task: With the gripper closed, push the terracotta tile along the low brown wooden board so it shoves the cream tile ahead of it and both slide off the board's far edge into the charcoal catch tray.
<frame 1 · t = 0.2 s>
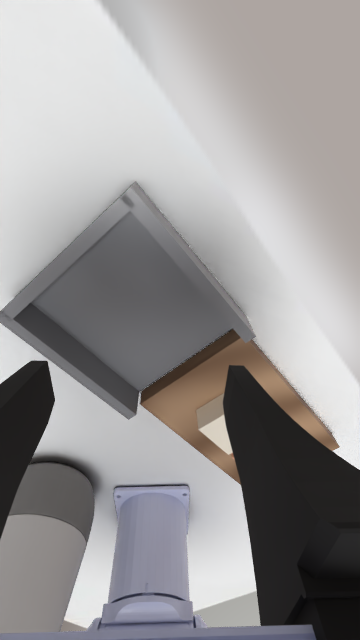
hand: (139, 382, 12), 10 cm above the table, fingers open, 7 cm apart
brown wooden board: (242, 413, 27), on the table
catch tray: (137, 311, 22), on the table
cream tile: (230, 411, 25), point 1 cm above the table, touching brown wooden board
smart speaker: (55, 479, 31), on the table
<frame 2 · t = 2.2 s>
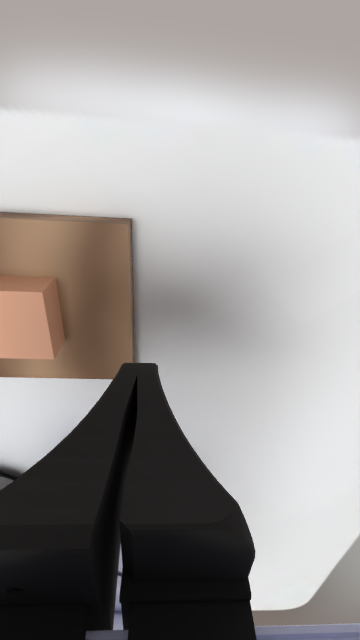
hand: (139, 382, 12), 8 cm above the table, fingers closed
brown wooden board: (1, 297, 18), on the table
terracotta tile: (24, 309, 17), point 1 cm above the table, touching brown wooden board
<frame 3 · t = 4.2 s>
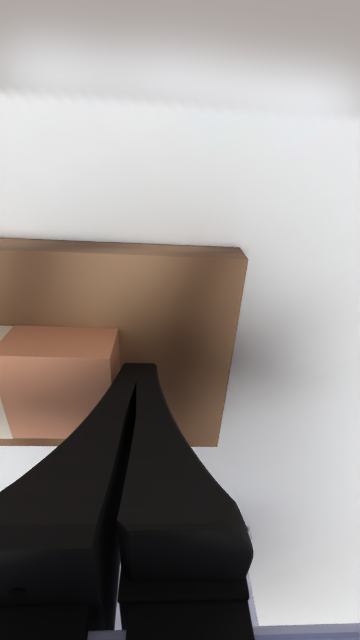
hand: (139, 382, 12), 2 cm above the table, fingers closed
brown wooden board: (54, 346, 14), on the table
terracotta tile: (72, 367, 13), point 2 cm above the table, touching gripper
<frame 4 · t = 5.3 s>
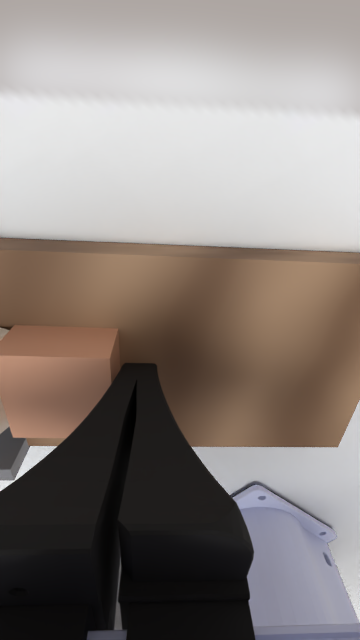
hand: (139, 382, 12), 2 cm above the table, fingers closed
brown wooden board: (192, 349, 14), on the table
terracotta tile: (72, 367, 13), point 2 cm above the table, touching brown wooden board, cream tile, gripper
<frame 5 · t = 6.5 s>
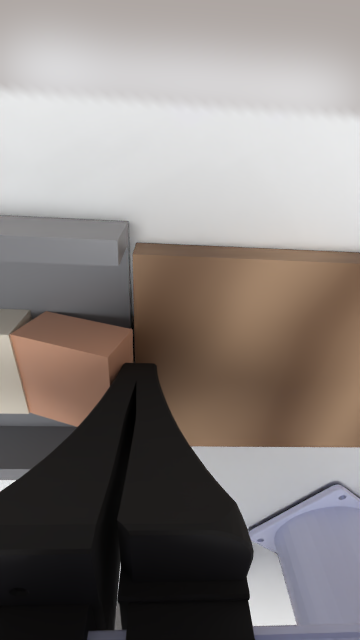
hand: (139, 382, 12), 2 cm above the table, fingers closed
brown wooden board: (302, 352, 15), on the table
catch tray: (11, 345, 14), on the table
terracotta tile: (91, 359, 13), point 1 cm above the table, tilted 19°, touching gripper
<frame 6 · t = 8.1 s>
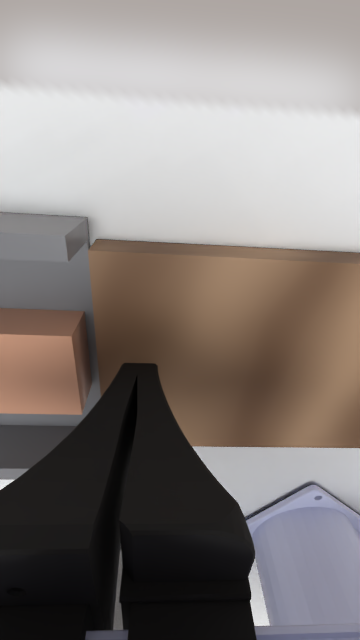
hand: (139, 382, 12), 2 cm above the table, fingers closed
brown wooden board: (272, 351, 15), on the table
smart speaker: (158, 553, 24), on the table
terracotta tile: (43, 348, 14), resting on catch tray
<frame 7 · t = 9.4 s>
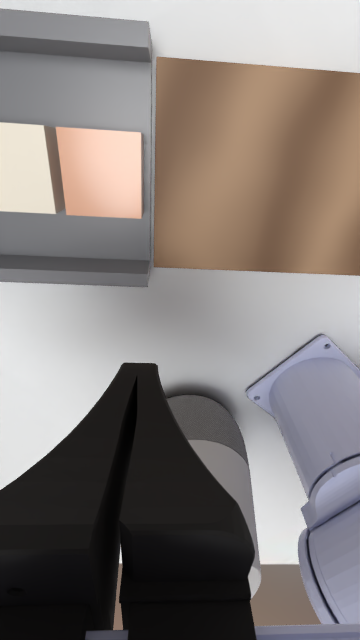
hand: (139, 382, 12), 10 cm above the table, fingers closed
brown wooden board: (290, 183, 18), on the table
catch tray: (53, 169, 17), on the table
cream tile: (25, 168, 17), resting on catch tray
smart speaker: (186, 420, 28), on the table
terracotta tile: (108, 173, 17), resting on catch tray
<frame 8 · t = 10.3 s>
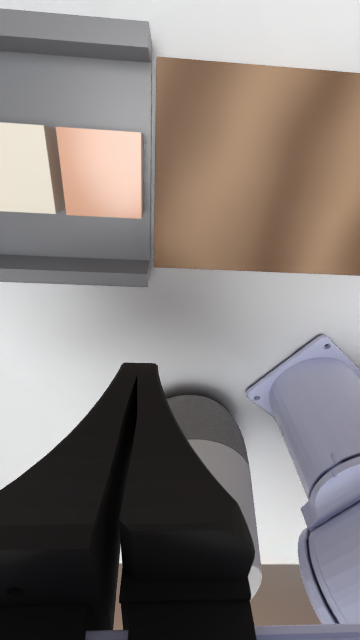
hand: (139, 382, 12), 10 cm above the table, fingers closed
brown wooden board: (290, 183, 18), on the table
catch tray: (53, 169, 17), on the table
cream tile: (25, 168, 17), resting on catch tray
smart speaker: (186, 420, 28), on the table
terracotta tile: (108, 173, 17), resting on catch tray
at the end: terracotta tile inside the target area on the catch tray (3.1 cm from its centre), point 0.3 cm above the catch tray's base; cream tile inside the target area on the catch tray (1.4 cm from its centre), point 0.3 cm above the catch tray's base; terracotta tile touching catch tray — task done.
